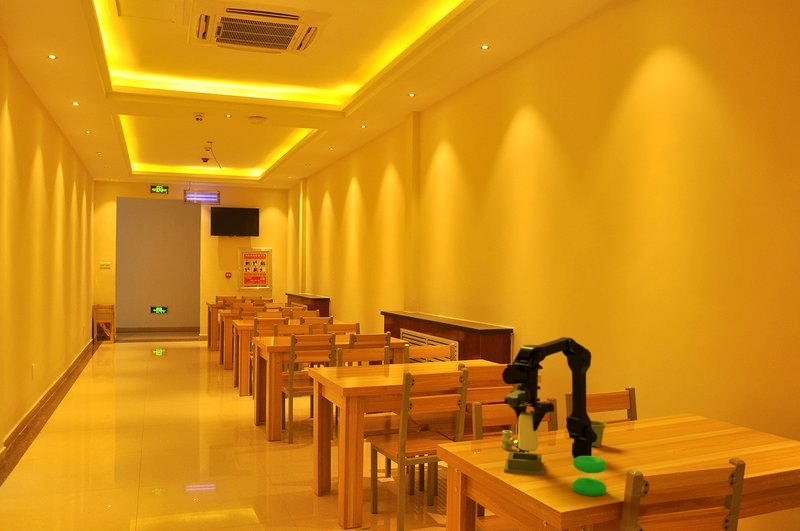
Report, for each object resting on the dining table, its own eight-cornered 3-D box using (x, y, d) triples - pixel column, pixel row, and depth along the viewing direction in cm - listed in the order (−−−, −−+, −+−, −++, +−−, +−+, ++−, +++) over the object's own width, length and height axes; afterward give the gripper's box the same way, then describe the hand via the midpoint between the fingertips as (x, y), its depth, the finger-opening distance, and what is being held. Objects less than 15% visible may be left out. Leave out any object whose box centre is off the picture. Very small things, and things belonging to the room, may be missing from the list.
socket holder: (544, 465, 239) (544, 453, 239) (544, 475, 227) (544, 463, 227) (506, 461, 242) (506, 450, 242) (504, 472, 229) (504, 459, 229)
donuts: (614, 461, 208) (588, 464, 204) (613, 495, 208) (587, 498, 204) (591, 453, 217) (566, 456, 213) (591, 485, 217) (565, 488, 213)
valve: (496, 448, 261) (516, 456, 251) (496, 430, 262) (517, 437, 251) (510, 446, 265) (530, 454, 254) (510, 429, 265) (531, 436, 254)
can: (516, 446, 238) (516, 411, 238) (534, 446, 238) (534, 411, 239) (521, 451, 231) (521, 415, 231) (540, 451, 232) (540, 415, 232)
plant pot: (594, 449, 264) (594, 426, 264) (575, 443, 272) (576, 421, 272) (610, 446, 269) (611, 424, 269) (591, 441, 277) (592, 419, 277)
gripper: (493, 380, 239) (491, 425, 238) (531, 388, 223) (529, 436, 223) (517, 378, 245) (515, 422, 244) (555, 386, 229) (554, 433, 229)
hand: (527, 428), depth 235 cm, fingers closed on can, 6 cm apart
